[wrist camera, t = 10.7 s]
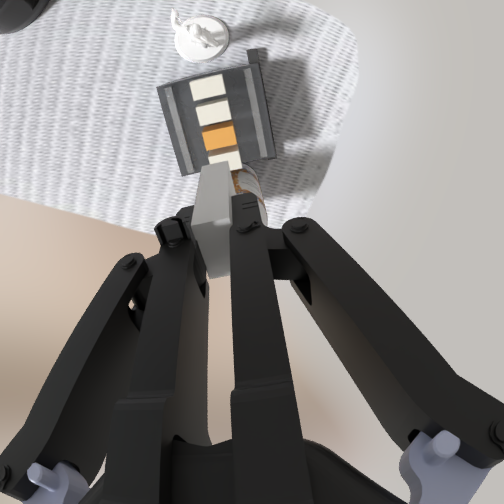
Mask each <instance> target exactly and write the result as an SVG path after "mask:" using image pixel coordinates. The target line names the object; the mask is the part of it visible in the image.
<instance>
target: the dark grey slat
mask: <svg viewBox="0 0 504 504" xmlns="http://www.w3.org/2000/svg"><path fill="white" fill-rule="evenodd" d="M247 55H248V59H249V64H252V63H258V65H259V70H260V75H261V80H262V85H263V91H264V96H265V101H266V107H267V112H268V118H269V123H270V129H271V134H272V140H273V146H274V152H275V157H270V158H268V160H270V159H275V158H277V157H276V151H275V145H274V139H273V133H272V128H271V122H270V116H269V111H268V105H267V100H266V95H265V89H264V84H263V79H262V74H261V69H260V64H259V59H258V54H257V49H250V50H247Z"/></svg>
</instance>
